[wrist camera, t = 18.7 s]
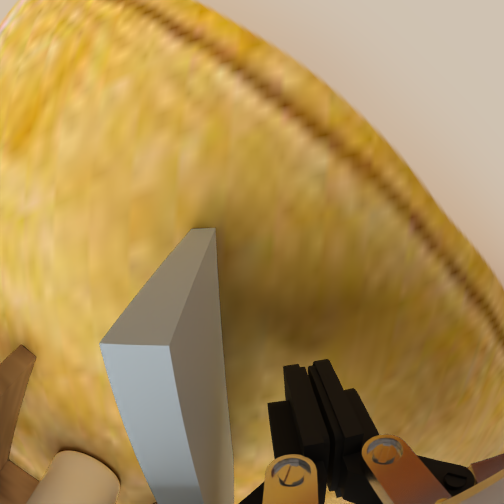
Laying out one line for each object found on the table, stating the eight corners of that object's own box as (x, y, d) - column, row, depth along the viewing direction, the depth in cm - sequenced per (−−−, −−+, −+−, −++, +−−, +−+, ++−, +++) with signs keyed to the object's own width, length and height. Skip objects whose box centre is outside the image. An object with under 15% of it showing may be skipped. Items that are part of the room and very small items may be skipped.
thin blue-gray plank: (233, 459, 16) (236, 594, 7) (217, 459, 16) (213, 594, 7) (215, 227, 13) (169, 345, 4) (191, 228, 13) (99, 343, 4)
